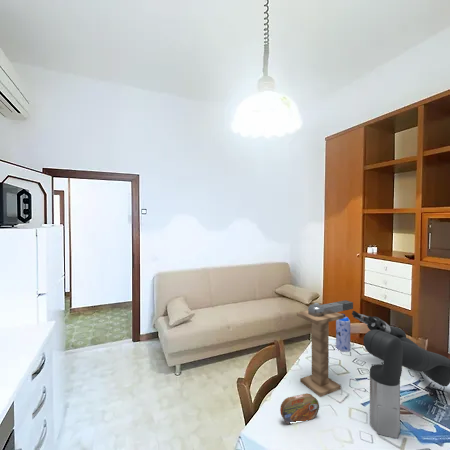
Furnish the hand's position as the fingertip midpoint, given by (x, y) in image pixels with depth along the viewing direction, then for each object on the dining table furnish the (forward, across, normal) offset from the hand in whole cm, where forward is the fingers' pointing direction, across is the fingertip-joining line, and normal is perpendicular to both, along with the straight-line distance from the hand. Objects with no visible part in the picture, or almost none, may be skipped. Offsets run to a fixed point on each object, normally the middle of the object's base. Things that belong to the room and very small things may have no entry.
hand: (360, 315), depth 132 cm
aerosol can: (-24, +20, -18) cm, 36 cm away
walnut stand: (+10, 0, -37) cm, 38 cm away
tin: (+29, -12, -48) cm, 58 cm away
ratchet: (+20, 0, -6) cm, 20 cm away
